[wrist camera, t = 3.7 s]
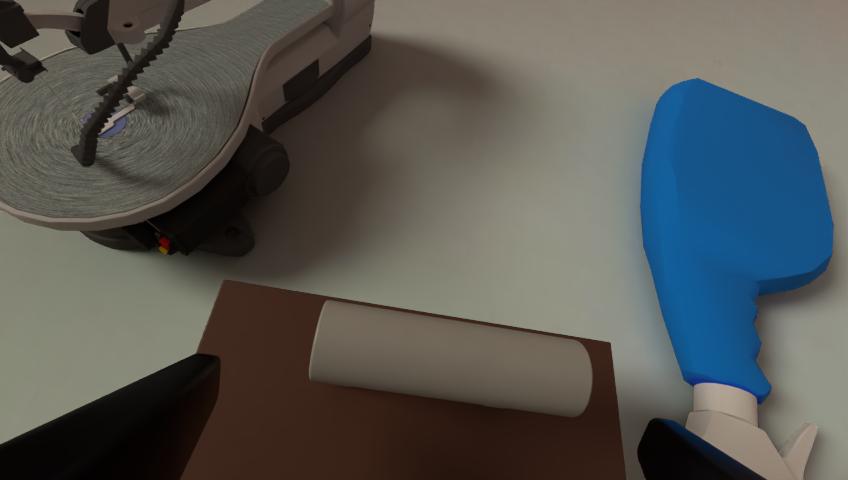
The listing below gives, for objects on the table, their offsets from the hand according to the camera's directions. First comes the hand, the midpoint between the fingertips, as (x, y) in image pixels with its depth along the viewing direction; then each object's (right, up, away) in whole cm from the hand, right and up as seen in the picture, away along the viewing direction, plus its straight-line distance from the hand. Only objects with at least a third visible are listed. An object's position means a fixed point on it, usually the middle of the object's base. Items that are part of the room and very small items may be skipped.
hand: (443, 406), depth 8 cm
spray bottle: (+16, +1, +15) cm, 22 cm away
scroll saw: (-10, +10, +13) cm, 20 cm away
